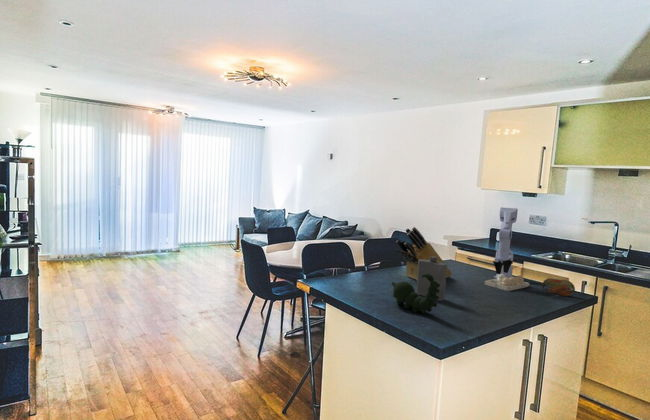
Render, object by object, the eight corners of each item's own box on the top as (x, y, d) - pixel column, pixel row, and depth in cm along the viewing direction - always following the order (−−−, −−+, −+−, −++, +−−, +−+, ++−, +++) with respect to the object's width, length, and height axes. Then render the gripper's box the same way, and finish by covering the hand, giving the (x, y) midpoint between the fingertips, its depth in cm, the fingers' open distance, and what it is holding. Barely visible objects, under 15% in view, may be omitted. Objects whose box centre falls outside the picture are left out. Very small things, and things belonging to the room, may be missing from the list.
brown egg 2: (517, 284, 225) (518, 274, 225) (524, 286, 221) (525, 276, 221) (513, 284, 222) (513, 275, 222) (520, 286, 219) (521, 276, 218)
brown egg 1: (504, 286, 217) (505, 276, 217) (511, 288, 214) (512, 278, 213) (499, 287, 215) (500, 277, 214) (507, 289, 211) (508, 279, 211)
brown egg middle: (510, 285, 221) (511, 275, 221) (518, 287, 218) (519, 277, 217) (506, 286, 219) (507, 276, 218) (514, 288, 215) (514, 278, 215)
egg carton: (504, 281, 233) (505, 277, 233) (528, 287, 221) (529, 282, 221) (484, 285, 221) (484, 280, 221) (508, 292, 209) (508, 287, 209)
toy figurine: (439, 318, 166) (396, 297, 186) (446, 276, 164) (401, 259, 183) (425, 322, 161) (382, 300, 180) (432, 279, 158) (387, 261, 177)
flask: (447, 299, 190) (450, 259, 188) (441, 301, 186) (444, 260, 184) (420, 292, 200) (423, 253, 199) (414, 293, 196) (416, 255, 195)
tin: (541, 292, 212) (543, 277, 211) (541, 291, 215) (542, 276, 214) (574, 297, 205) (575, 282, 204) (573, 296, 208) (575, 280, 207)
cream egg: (499, 282, 227) (500, 272, 226) (506, 284, 223) (507, 274, 223) (495, 283, 224) (496, 273, 224) (502, 285, 221) (503, 275, 220)
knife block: (392, 277, 228) (395, 225, 226) (439, 273, 243) (442, 225, 241) (403, 282, 218) (407, 227, 216) (451, 278, 233) (456, 227, 231)
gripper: (504, 247, 229) (502, 270, 231) (490, 249, 221) (488, 272, 222) (516, 250, 224) (513, 273, 225) (501, 251, 215) (499, 275, 217)
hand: (501, 273), depth 223 cm, fingers open, 7 cm apart
